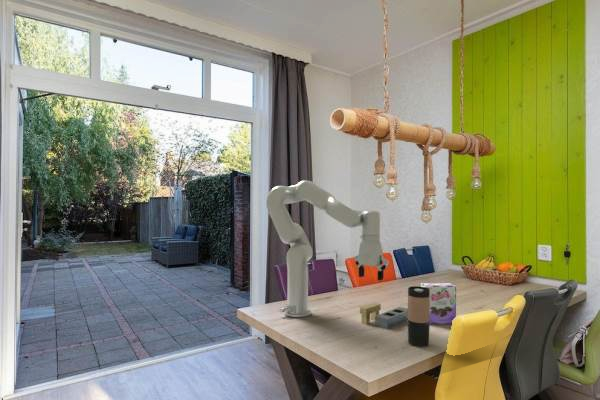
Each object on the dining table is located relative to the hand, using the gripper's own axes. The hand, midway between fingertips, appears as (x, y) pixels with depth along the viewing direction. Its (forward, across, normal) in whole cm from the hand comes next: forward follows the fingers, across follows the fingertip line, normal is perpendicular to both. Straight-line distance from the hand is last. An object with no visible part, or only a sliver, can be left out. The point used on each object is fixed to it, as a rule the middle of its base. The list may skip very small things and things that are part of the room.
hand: (370, 278), depth 159 cm
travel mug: (+19, +27, -9) cm, 34 cm away
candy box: (+19, +21, +20) cm, 34 cm away
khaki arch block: (+18, 0, 0) cm, 18 cm away
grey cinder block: (+18, +8, +6) cm, 21 cm away
